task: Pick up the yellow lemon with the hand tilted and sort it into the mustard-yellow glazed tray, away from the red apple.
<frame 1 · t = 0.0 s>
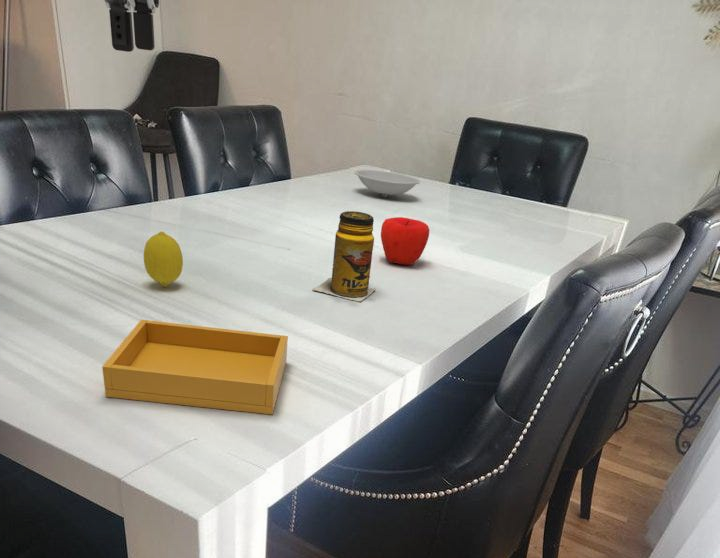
hand: (134, 50, 77), 30 cm above the table, tool pointing down, fingers open, 8 cm apart
dish: (384, 197, 174), on the table
yellow tray: (203, 378, 74), on the table
lemon: (164, 287, 98), on the table
apple: (400, 264, 123), on the table
condiment: (344, 291, 106), on the table
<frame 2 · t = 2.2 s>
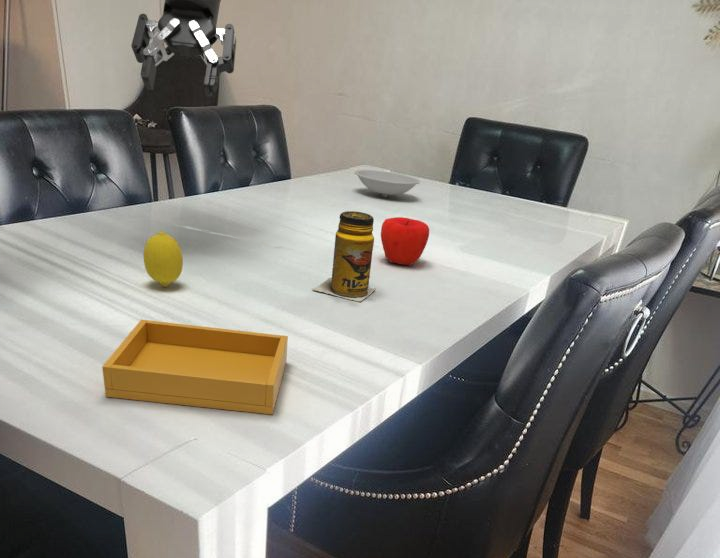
hand: (177, 88, 92), 25 cm above the table, tool tilted 45°, fingers open, 8 cm apart
nothing on the table moved.
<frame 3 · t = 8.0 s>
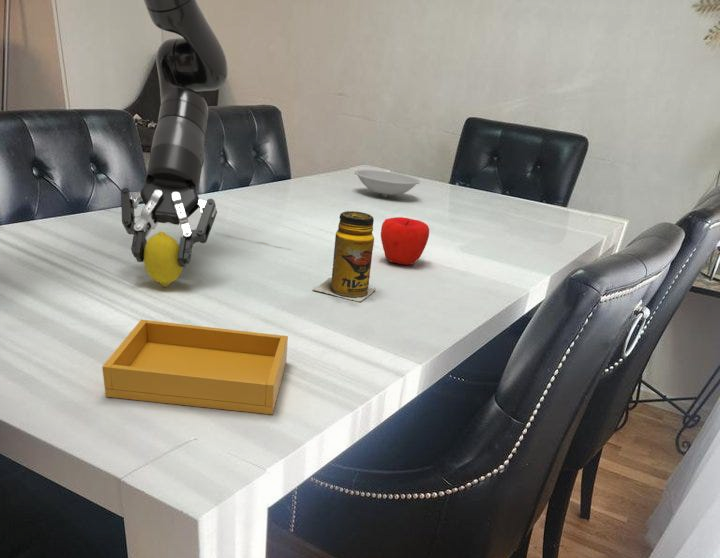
hand: (160, 261, 94), 4 cm above the table, tool tilted 45°, fingers closed on lemon, 5 cm apart
lemon: (164, 287, 98), on the table, touching gripper
everything else where it was.
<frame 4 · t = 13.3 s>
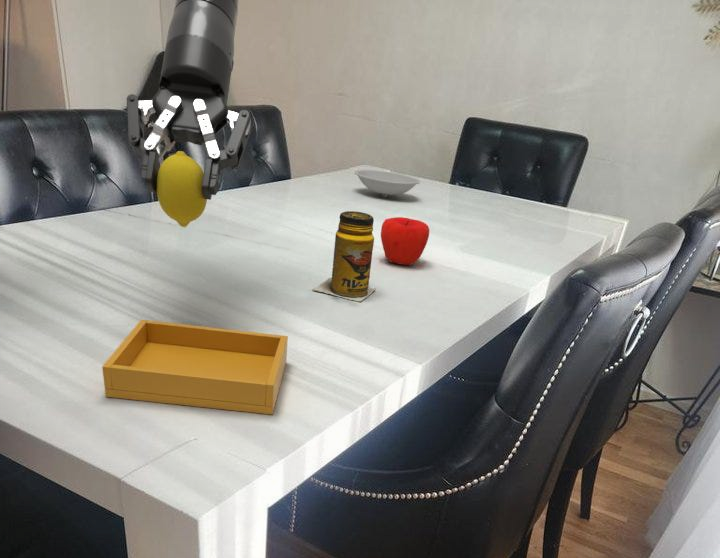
hand: (178, 191, 71), 18 cm above the table, tool tilted 45°, fingers closed on lemon, 5 cm apart
lemon: (183, 228, 75), point 14 cm above the table, touching gripper
everything else where it was.
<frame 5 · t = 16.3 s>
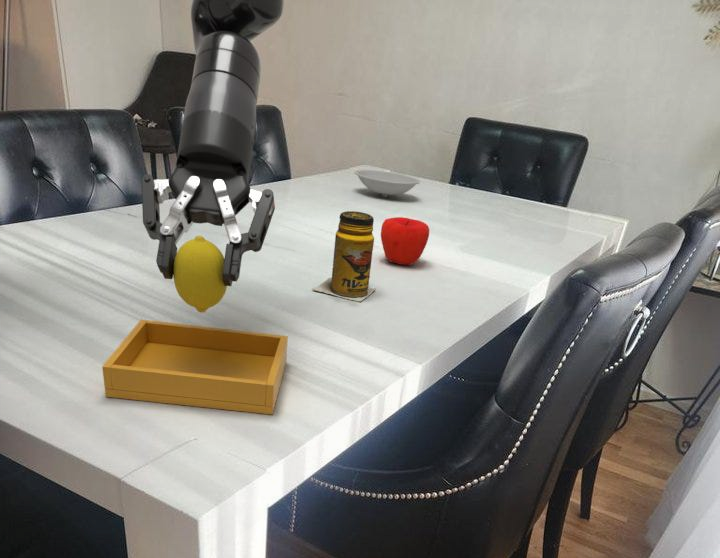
hand: (197, 278, 66), 12 cm above the table, tool tilted 45°, fingers closed on lemon, 5 cm apart
lemon: (201, 314, 70), point 8 cm above the table, touching gripper
everything else where it was.
when the fingers open (5 cm above the table, at t = 18.7 s): lemon stays where it is, resting on yellow tray.
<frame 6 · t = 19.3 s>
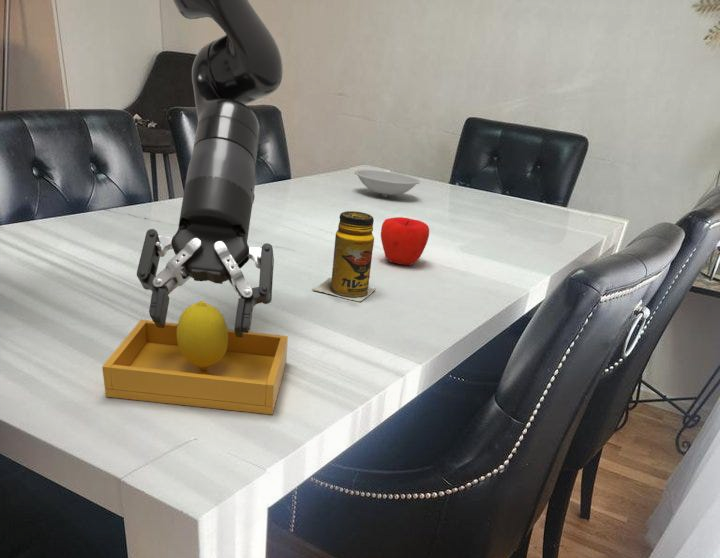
hand: (199, 329, 70), 6 cm above the table, tool tilted 45°, fingers open, 8 cm apart
lemon: (203, 371, 74), point 1 cm above the table, touching yellow tray
everything else where it was.
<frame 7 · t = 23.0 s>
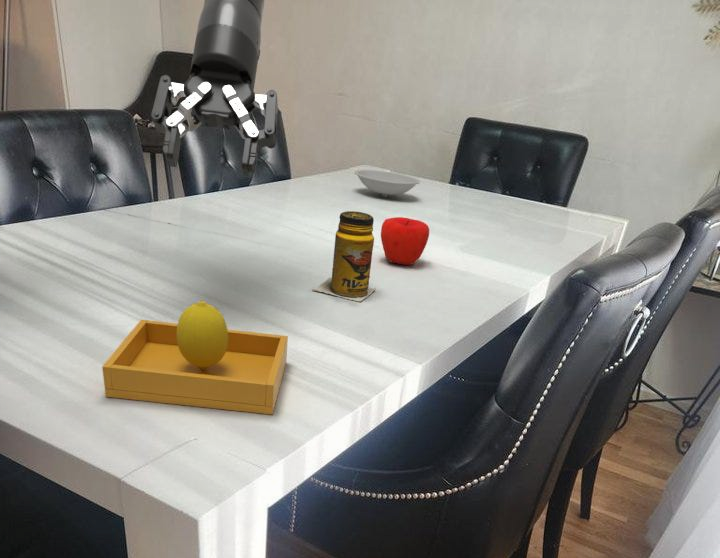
hand: (208, 167, 75), 20 cm above the table, tool tilted 45°, fingers open, 8 cm apart
nothing on the table moved.
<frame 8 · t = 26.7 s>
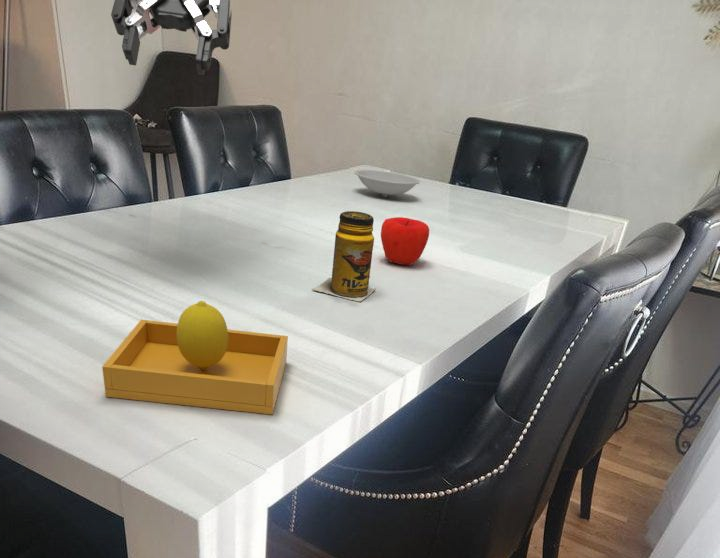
hand: (165, 64, 80), 29 cm above the table, tool tilted 45°, fingers open, 8 cm apart
nothing on the table moved.
at the end: lemon inside the target area in the yellow tray (0.2 cm from its centre), point 0.8 cm above the yellow tray's base; the gripper is holding nothing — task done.
